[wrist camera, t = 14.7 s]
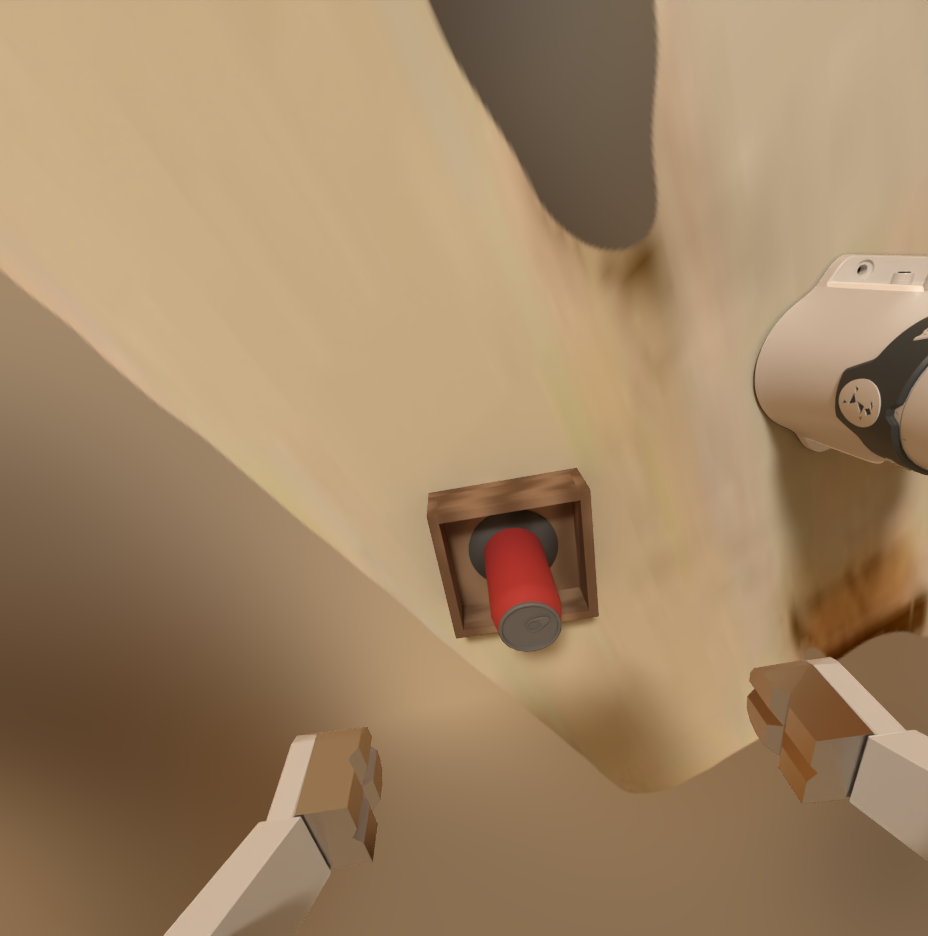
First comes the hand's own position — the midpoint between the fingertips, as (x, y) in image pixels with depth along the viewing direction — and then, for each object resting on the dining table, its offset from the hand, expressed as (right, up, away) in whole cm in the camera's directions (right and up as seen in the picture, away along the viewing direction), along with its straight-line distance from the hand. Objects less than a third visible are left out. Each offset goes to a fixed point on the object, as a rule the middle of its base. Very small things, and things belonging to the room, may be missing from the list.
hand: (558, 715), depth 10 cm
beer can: (+3, -4, +41) cm, 42 cm away
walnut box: (+3, -3, +42) cm, 43 cm away
